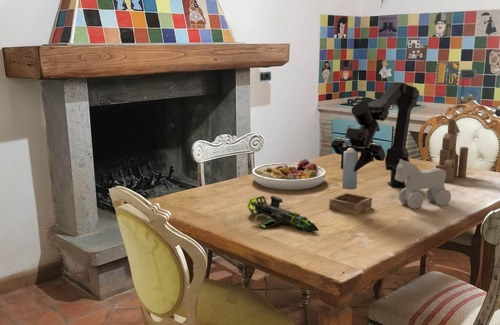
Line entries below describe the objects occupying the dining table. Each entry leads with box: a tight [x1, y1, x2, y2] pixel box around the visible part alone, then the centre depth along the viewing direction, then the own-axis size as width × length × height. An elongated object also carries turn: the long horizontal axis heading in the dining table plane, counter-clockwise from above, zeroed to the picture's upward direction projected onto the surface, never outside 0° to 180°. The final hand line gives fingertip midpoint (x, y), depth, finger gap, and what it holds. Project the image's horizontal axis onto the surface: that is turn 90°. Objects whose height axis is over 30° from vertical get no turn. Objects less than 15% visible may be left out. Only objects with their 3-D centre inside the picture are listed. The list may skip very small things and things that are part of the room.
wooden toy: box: [435, 118, 469, 184], centre depth 211 cm, size 16×7×25 cm, turn 133°
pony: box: [395, 159, 452, 210], centre depth 176 cm, size 20×10×17 cm, turn 105°
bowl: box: [252, 158, 326, 191], centre depth 209 cm, size 30×30×8 cm
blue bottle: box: [342, 148, 359, 190], centre depth 172 cm, size 5×5×14 cm
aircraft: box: [247, 195, 320, 233], centre depth 160 cm, size 17×28×6 cm, turn 45°
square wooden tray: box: [328, 192, 373, 216], centre depth 174 cm, size 10×10×4 cm
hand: (348, 169), depth 171 cm, fingers closed on blue bottle, 5 cm apart
